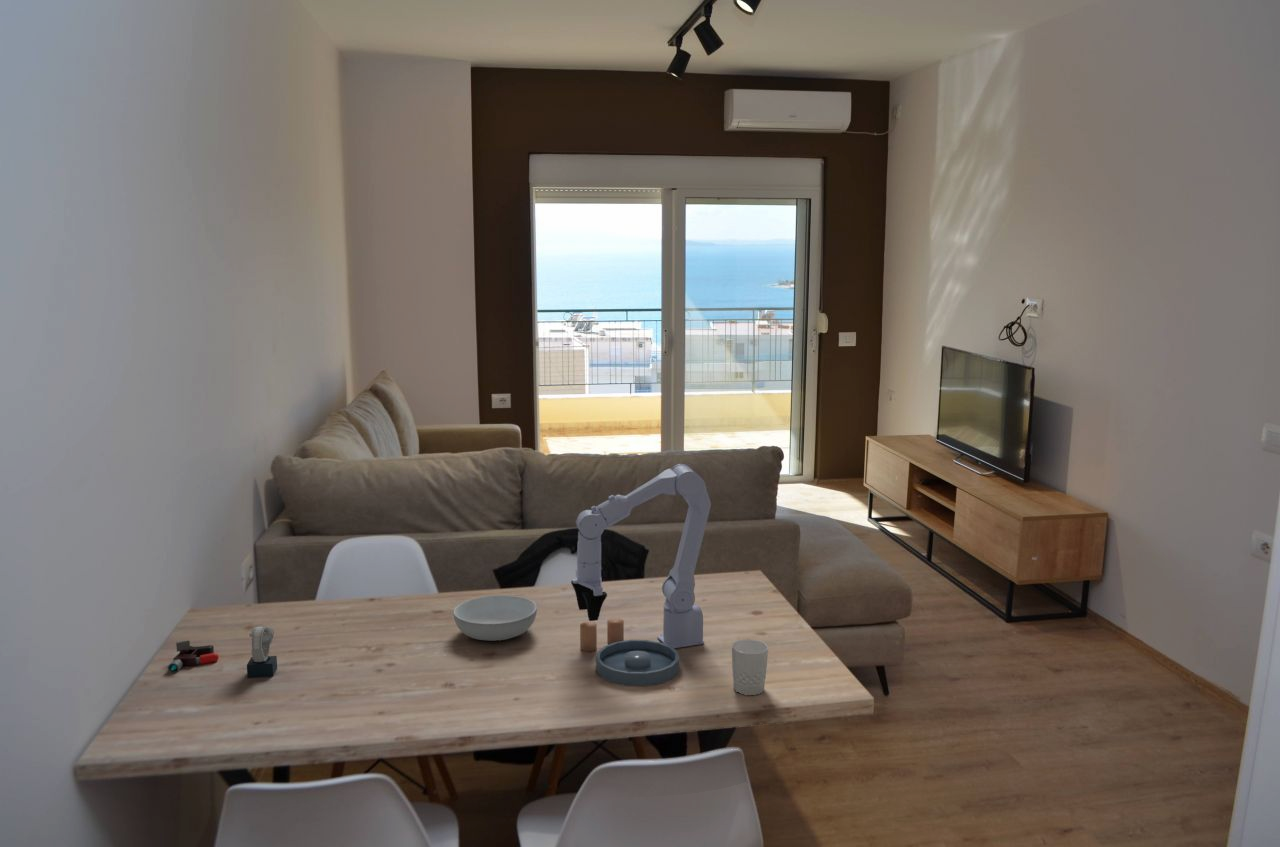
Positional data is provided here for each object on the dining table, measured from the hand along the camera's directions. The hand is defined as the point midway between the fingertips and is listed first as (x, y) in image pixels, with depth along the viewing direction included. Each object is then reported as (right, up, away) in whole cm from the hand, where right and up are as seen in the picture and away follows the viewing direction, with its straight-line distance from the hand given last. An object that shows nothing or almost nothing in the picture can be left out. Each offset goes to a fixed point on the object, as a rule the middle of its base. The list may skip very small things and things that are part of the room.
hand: (588, 614), depth 231 cm
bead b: (+6, -8, +4) cm, 11 cm away
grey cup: (+37, -13, -20) cm, 44 cm away
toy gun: (-91, -10, -8) cm, 92 cm away
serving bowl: (-24, -7, +10) cm, 27 cm away
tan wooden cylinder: (0, -9, +2) cm, 9 cm away
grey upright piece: (-74, -11, -13) cm, 76 cm away
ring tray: (+12, -10, -10) cm, 19 cm away
